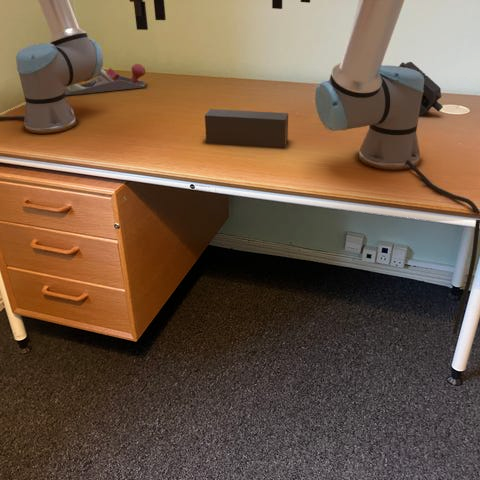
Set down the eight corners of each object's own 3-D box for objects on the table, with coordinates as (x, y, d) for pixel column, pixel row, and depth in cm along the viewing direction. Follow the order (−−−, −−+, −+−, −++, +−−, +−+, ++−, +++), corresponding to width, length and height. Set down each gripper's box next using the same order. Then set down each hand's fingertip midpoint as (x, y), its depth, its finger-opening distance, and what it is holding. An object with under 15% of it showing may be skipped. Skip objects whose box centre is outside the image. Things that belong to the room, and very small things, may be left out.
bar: (287, 140, 151) (288, 113, 147) (284, 148, 146) (285, 119, 142) (211, 136, 155) (210, 108, 151) (206, 143, 151) (204, 115, 147)
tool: (380, 92, 178) (407, 55, 167) (423, 130, 174) (453, 95, 163) (371, 97, 174) (398, 59, 163) (415, 136, 170) (446, 100, 159)
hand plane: (62, 90, 197) (53, 48, 189) (145, 82, 205) (140, 41, 197) (62, 96, 191) (54, 53, 184) (148, 87, 199) (143, 45, 191)
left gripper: (146, -70, 140) (154, 16, 151) (106, -66, 120) (119, 33, 131) (173, -71, 139) (180, 16, 150) (137, -67, 118) (148, 34, 129)
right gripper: (308, -88, 143) (304, -1, 154) (251, -87, 126) (252, 10, 137) (332, -88, 139) (327, 0, 150) (277, -87, 122) (276, 12, 133)
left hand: (151, 24), depth 140 cm, fingers open, 13 cm apart
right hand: (291, 5), depth 143 cm, fingers open, 13 cm apart
